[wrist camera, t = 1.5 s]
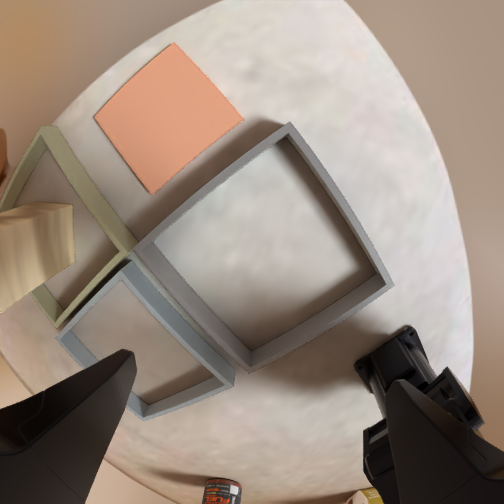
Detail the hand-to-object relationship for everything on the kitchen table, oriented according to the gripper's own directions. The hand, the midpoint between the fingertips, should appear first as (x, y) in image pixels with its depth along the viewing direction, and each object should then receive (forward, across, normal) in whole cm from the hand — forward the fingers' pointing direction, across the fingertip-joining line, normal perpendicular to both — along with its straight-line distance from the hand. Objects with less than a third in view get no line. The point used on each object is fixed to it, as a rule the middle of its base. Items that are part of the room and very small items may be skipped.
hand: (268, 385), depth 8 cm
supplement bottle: (+12, 0, +40) cm, 42 cm away
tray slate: (+12, +10, +11) cm, 19 cm away
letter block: (+12, +19, 0) cm, 22 cm away
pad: (+12, +8, -9) cm, 17 cm away
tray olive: (+12, +19, 0) cm, 22 cm away
